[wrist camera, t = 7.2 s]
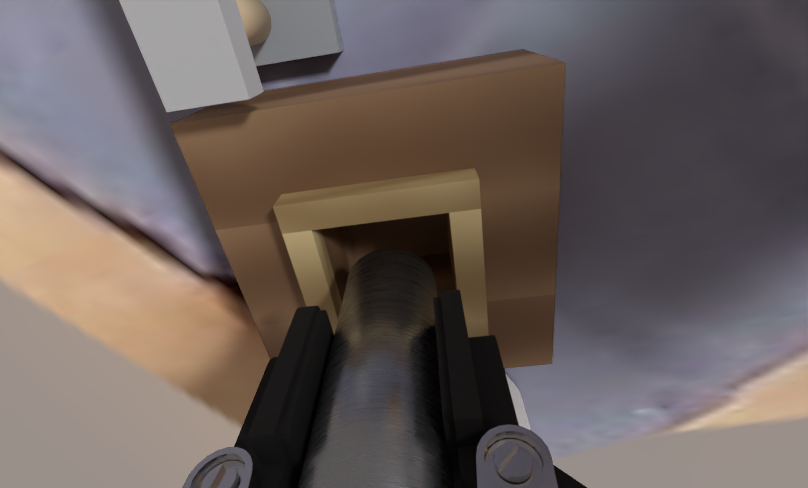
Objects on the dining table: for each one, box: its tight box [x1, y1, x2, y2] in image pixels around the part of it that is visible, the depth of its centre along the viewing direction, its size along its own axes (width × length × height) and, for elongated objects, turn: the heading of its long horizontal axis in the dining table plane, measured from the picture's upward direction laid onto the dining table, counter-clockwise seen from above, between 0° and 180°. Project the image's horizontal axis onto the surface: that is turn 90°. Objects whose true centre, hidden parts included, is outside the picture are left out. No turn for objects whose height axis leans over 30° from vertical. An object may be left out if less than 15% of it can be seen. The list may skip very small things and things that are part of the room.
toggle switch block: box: [170, 49, 566, 368], centre depth 17 cm, size 12×12×6 cm
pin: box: [298, 249, 455, 488], centre depth 9 cm, size 3×3×10 cm
